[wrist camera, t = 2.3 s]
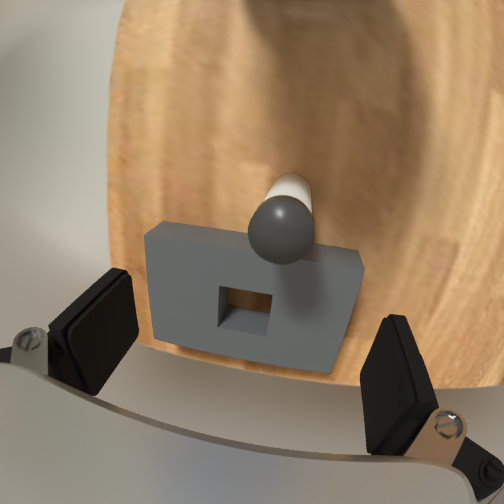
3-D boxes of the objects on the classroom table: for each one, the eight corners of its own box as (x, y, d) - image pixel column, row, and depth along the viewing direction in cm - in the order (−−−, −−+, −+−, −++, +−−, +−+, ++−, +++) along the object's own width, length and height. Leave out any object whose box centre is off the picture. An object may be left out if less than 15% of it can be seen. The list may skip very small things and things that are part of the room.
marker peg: (320, 190, 29) (327, 230, 18) (295, 221, 31) (286, 276, 20) (287, 164, 29) (273, 188, 18) (262, 196, 30) (235, 239, 20)
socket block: (358, 250, 31) (364, 269, 27) (329, 348, 37) (330, 373, 33) (162, 221, 34) (144, 235, 30) (167, 318, 39) (154, 338, 35)
